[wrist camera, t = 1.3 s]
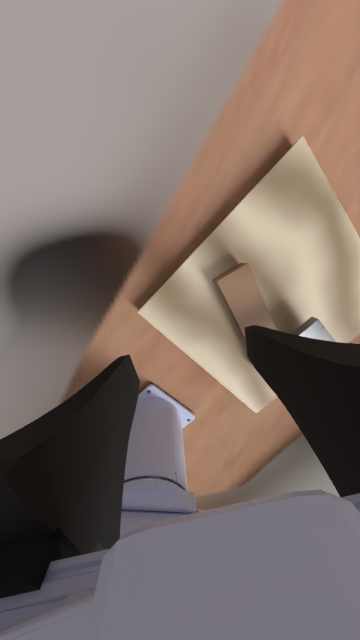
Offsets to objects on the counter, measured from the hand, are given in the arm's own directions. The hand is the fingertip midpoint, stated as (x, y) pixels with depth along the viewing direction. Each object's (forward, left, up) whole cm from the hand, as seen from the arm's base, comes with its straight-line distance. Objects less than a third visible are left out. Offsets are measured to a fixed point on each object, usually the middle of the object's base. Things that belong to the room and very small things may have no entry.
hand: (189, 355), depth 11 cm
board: (+7, -7, -9) cm, 13 cm away
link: (+5, -6, -7) cm, 11 cm away
